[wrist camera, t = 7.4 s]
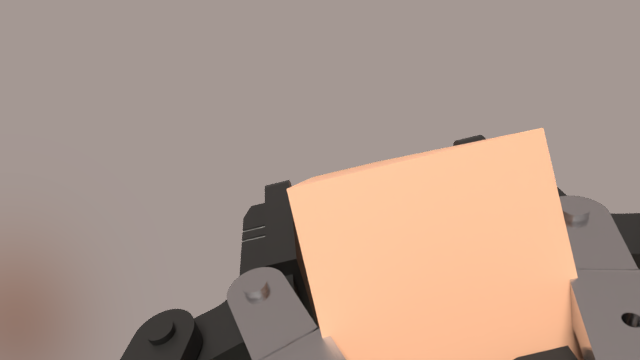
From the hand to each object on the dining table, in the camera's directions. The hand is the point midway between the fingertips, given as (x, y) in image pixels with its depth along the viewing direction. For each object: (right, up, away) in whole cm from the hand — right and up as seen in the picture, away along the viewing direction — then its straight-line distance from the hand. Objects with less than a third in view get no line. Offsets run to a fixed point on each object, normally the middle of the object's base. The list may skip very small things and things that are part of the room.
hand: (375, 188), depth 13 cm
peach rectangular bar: (+1, -3, +4) cm, 5 cm away
